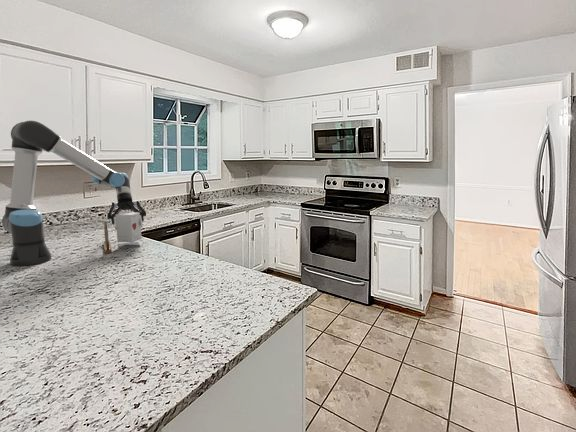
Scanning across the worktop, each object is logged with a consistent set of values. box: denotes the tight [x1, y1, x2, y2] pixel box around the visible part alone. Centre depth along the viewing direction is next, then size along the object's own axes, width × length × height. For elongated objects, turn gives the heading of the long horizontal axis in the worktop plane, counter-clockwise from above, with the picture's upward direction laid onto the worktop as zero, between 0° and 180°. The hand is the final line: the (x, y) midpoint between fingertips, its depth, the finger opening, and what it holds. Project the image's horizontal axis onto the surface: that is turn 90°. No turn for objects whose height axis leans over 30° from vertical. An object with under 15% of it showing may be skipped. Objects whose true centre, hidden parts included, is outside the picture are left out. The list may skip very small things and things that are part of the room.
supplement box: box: [115, 211, 143, 243], centre depth 182 cm, size 9×9×15 cm
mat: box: [118, 241, 141, 250], centre depth 184 cm, size 10×10×1 cm
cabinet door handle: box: [103, 220, 113, 254], centre depth 178 cm, size 3×22×15 cm, turn 30°
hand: (129, 227), depth 181 cm, fingers closed on supplement box, 12 cm apart
